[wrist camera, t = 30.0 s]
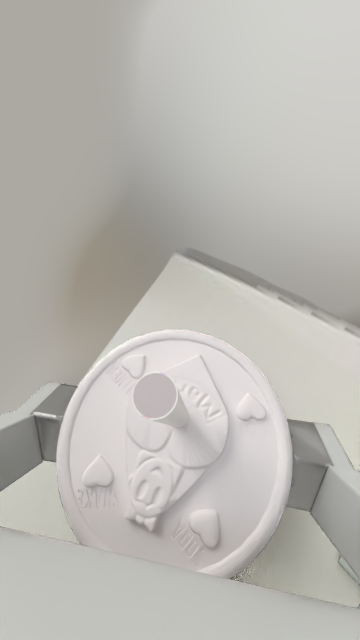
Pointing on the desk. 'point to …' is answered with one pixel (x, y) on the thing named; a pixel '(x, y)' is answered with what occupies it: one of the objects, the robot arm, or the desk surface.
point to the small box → (348, 569)
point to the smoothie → (175, 454)
